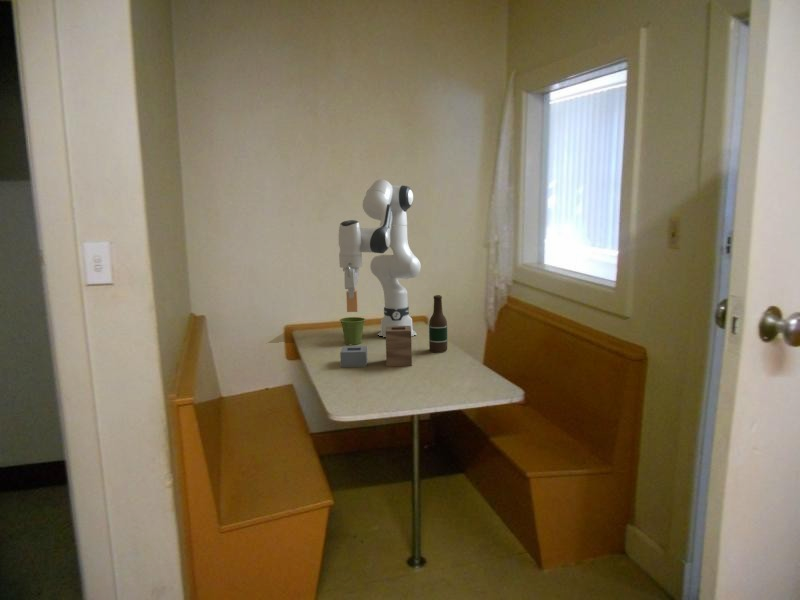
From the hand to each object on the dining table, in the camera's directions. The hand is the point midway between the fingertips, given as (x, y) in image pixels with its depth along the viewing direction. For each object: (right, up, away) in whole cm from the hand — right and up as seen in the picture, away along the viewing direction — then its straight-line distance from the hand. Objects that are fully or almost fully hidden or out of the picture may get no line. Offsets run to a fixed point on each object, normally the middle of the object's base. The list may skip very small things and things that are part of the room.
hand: (352, 297), depth 236 cm
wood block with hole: (+19, -26, +4) cm, 32 cm away
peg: (0, -6, +1) cm, 6 cm away
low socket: (+1, -27, +4) cm, 27 cm away
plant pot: (-2, -21, +39) cm, 44 cm away
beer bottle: (+36, -23, +22) cm, 48 cm away
